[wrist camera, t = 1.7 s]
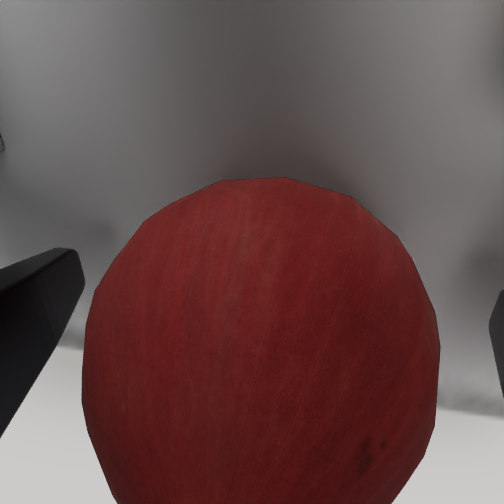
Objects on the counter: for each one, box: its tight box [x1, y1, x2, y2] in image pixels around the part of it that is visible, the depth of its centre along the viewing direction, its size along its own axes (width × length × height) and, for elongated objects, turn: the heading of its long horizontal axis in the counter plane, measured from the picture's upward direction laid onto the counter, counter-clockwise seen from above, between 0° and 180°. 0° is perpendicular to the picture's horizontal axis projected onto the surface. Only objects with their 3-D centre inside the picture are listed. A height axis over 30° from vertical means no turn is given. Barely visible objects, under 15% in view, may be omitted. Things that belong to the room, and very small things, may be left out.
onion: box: [82, 177, 440, 504], centre depth 7 cm, size 6×6×8 cm
